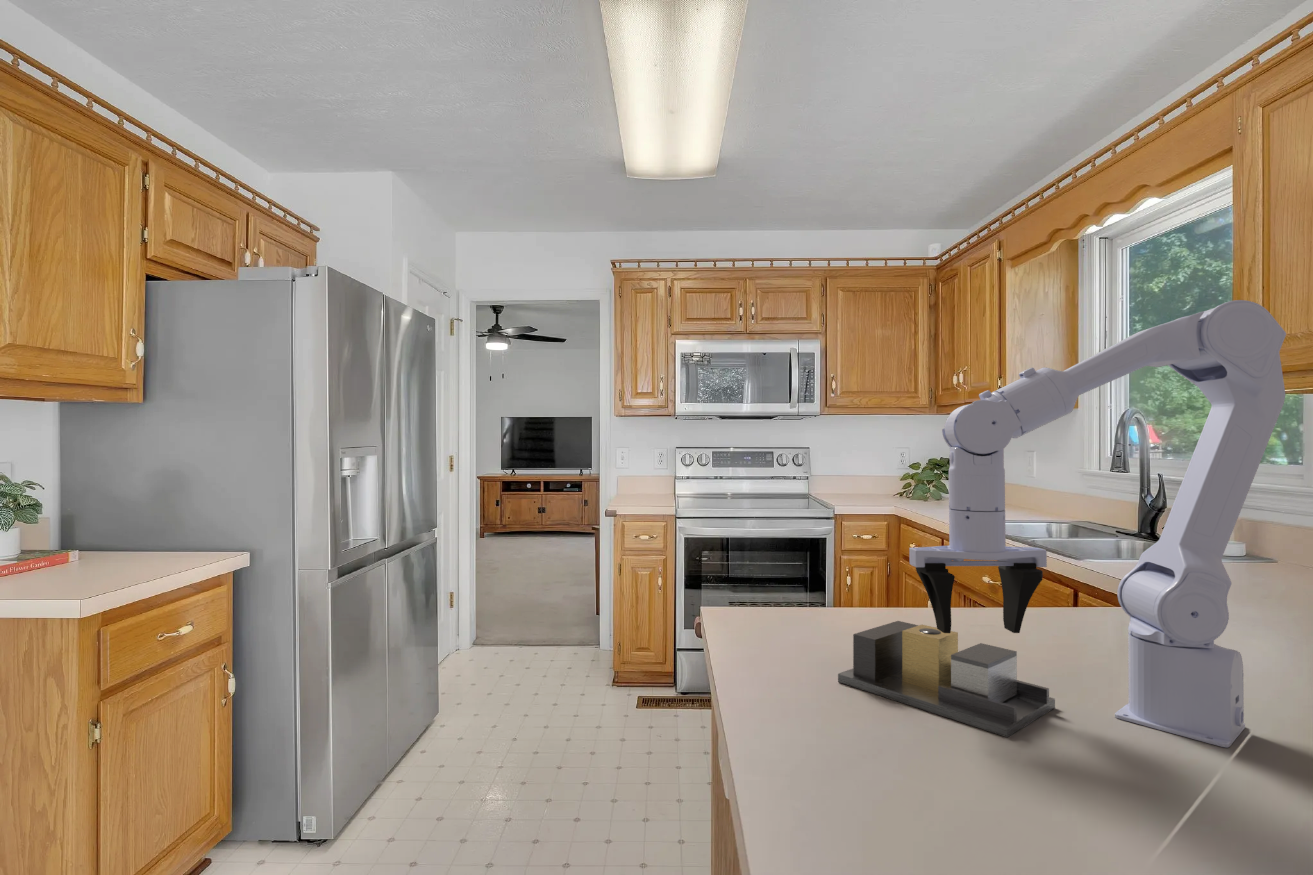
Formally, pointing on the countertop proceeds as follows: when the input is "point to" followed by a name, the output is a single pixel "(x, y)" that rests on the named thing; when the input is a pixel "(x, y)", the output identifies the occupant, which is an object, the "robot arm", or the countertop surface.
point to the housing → (927, 656)
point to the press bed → (883, 676)
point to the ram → (985, 671)
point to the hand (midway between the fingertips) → (977, 630)
